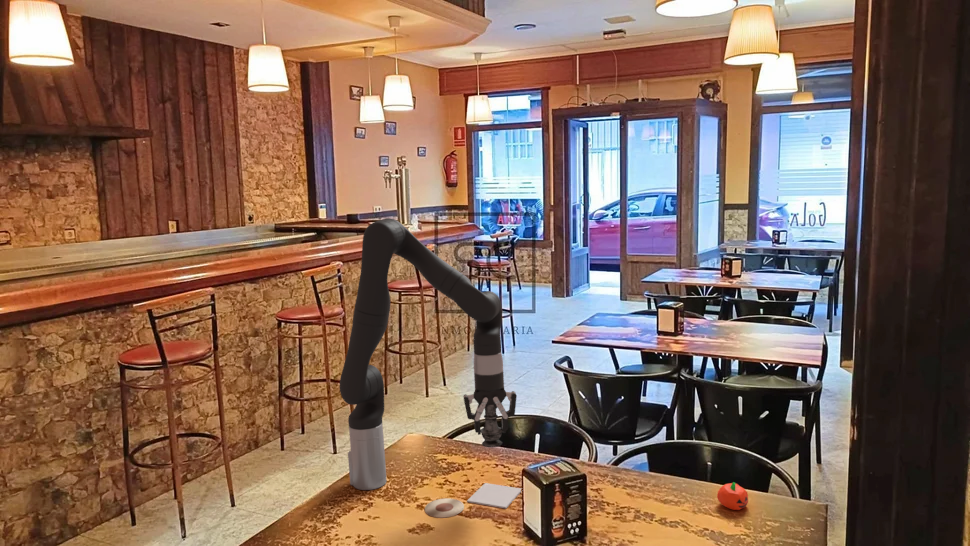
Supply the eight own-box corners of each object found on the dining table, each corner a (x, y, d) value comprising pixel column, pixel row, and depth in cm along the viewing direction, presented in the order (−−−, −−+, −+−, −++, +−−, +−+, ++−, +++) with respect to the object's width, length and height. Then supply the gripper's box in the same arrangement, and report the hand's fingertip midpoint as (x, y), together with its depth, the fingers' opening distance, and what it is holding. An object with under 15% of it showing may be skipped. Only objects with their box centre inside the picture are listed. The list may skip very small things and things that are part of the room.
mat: (467, 501, 175) (467, 500, 175) (485, 484, 184) (485, 482, 184) (506, 508, 170) (506, 507, 170) (522, 490, 180) (522, 488, 180)
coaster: (417, 513, 170) (417, 513, 169) (436, 496, 178) (436, 495, 178) (452, 520, 165) (452, 519, 165) (470, 502, 174) (470, 501, 174)
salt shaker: (501, 448, 172) (499, 402, 170) (478, 447, 173) (476, 402, 172) (505, 439, 177) (503, 395, 176) (483, 438, 179) (481, 395, 177)
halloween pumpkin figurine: (748, 503, 168) (752, 479, 166) (744, 518, 161) (748, 493, 159) (718, 495, 171) (722, 471, 170) (713, 508, 164) (716, 484, 163)
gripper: (461, 375, 169) (464, 440, 171) (518, 371, 170) (521, 435, 172) (459, 367, 176) (463, 429, 178) (514, 364, 177) (517, 425, 179)
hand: (491, 432), depth 175 cm, fingers closed on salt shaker, 6 cm apart
